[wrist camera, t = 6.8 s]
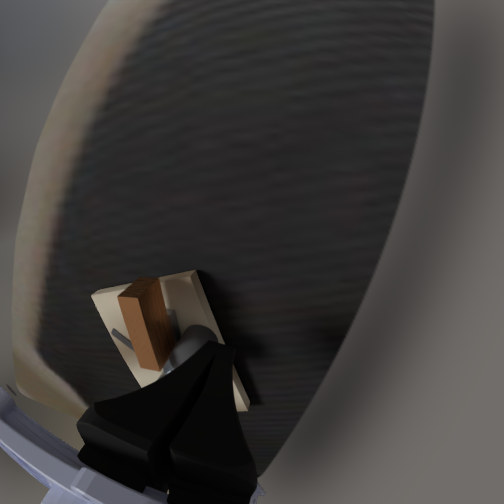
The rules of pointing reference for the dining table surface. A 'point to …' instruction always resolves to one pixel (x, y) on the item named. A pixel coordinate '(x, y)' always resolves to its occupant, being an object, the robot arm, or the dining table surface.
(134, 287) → the crank
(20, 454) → the robot arm
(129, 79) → the dining table surface
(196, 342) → the post
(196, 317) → the board
